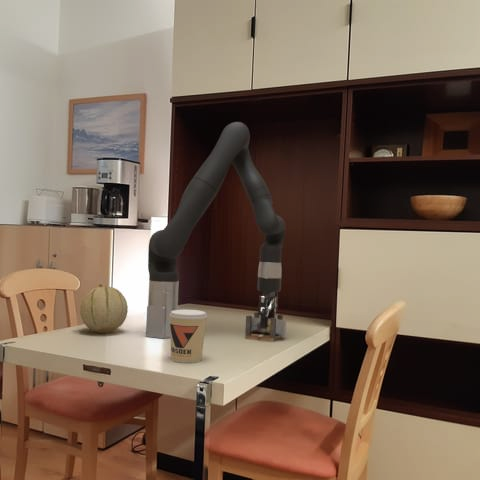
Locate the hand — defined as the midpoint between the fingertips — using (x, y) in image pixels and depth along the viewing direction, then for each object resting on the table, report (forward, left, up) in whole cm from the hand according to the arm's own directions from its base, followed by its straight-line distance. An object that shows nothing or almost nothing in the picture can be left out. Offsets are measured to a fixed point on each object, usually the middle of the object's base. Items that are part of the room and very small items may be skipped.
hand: (267, 326), depth 157 cm
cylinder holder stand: (0, +1, -4) cm, 4 cm away
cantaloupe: (-19, +48, -4) cm, 52 cm away
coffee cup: (-38, +10, -4) cm, 40 cm away
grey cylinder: (0, 0, -2) cm, 2 cm away
